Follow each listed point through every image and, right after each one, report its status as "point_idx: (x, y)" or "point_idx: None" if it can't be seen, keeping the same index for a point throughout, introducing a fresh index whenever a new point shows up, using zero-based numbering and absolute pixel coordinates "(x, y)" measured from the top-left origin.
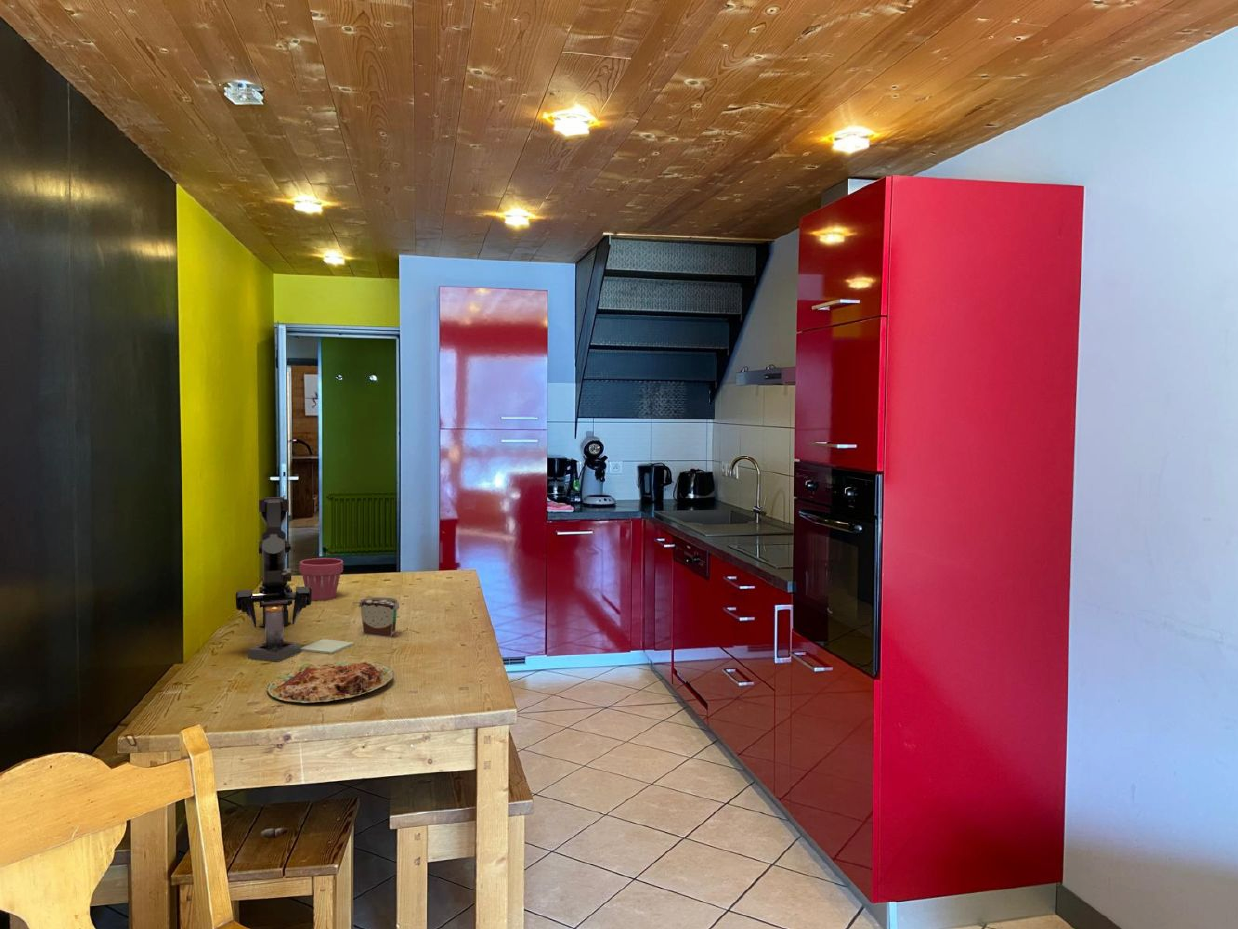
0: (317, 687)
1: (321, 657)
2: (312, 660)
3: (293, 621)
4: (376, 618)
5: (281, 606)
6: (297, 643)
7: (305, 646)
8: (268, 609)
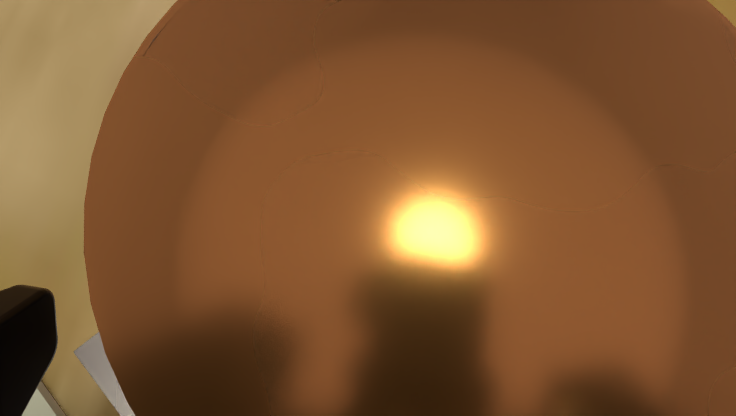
0: None
1: (9, 116)
2: (108, 68)
3: (23, 288)
4: None
5: (211, 30)
6: (105, 360)
7: None
8: (664, 13)
